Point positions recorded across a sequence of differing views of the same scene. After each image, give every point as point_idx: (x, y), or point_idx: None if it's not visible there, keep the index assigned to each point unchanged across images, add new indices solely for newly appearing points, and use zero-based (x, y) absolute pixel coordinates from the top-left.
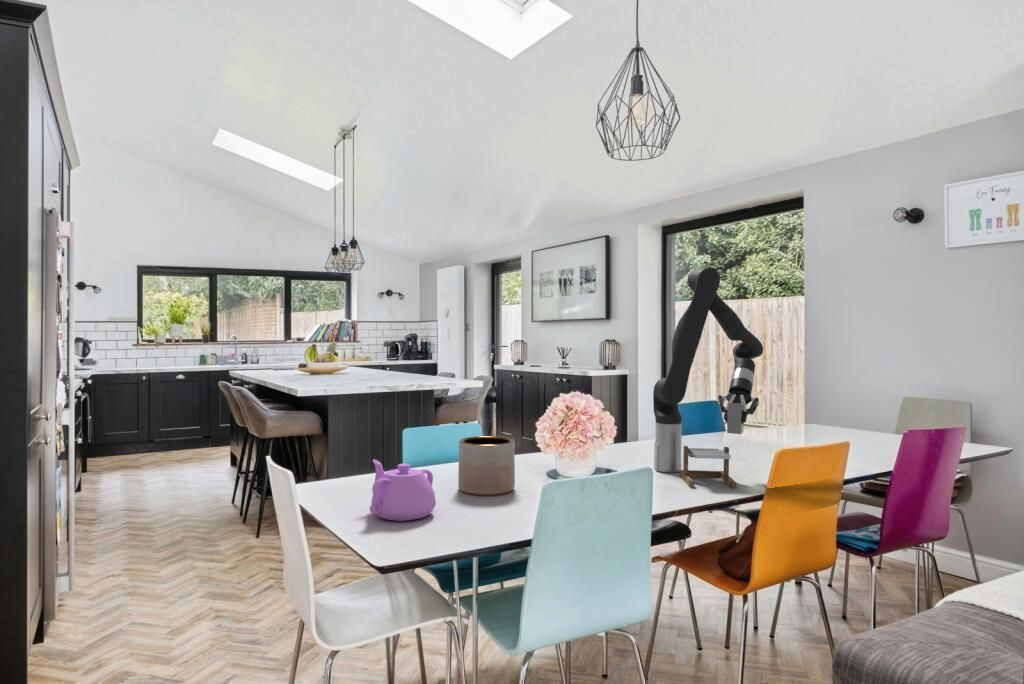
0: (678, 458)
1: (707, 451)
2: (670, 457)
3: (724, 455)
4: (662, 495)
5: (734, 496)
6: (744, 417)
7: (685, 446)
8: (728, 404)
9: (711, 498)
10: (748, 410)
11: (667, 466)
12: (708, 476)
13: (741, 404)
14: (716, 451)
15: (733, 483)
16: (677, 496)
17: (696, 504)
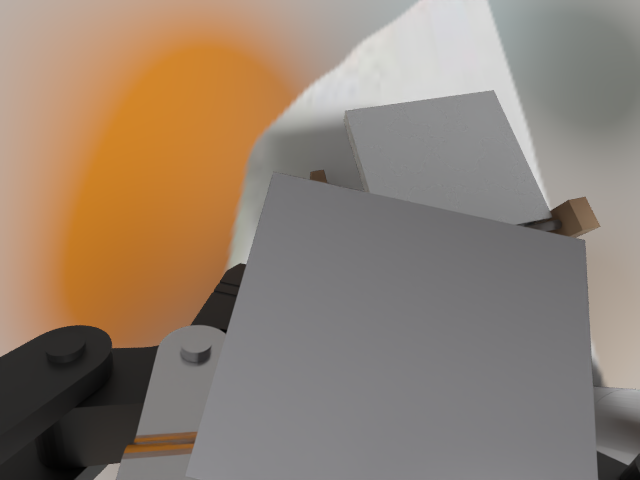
0: (596, 422)
1: (460, 188)
2: (632, 392)
3: (373, 111)
4: (503, 64)
5: (318, 96)
6: (237, 284)
7: (584, 206)
8: (557, 239)
9: (379, 63)
10: (131, 367)
11: (605, 387)
12: None
13: (269, 222)
14: (417, 200)
15: (321, 171)
16: (465, 63)
17: (409, 9)
